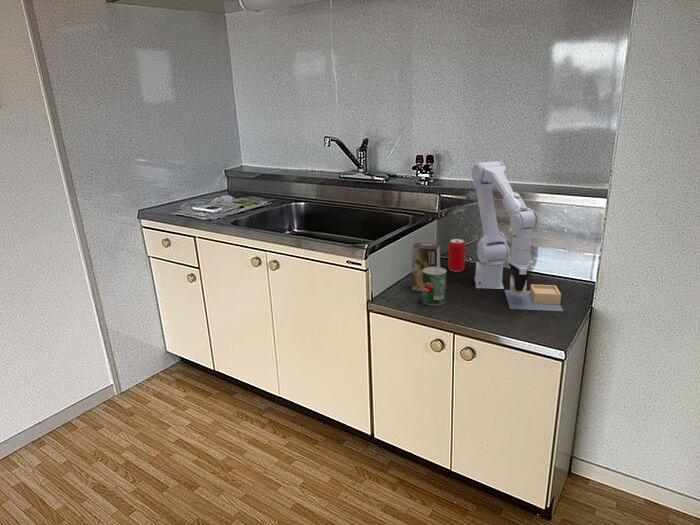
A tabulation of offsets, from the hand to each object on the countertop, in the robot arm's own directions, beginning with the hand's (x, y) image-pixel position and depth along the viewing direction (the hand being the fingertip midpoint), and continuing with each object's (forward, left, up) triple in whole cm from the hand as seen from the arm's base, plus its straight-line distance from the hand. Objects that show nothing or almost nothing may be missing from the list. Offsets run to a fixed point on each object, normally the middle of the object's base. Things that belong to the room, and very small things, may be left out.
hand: (517, 287), depth 160 cm
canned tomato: (-27, -2, -5) cm, 28 cm away
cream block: (0, 0, -1) cm, 1 cm away
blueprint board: (+5, +1, -5) cm, 7 cm away
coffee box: (-30, +9, -5) cm, 32 cm away
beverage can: (-19, +30, -5) cm, 36 cm away
